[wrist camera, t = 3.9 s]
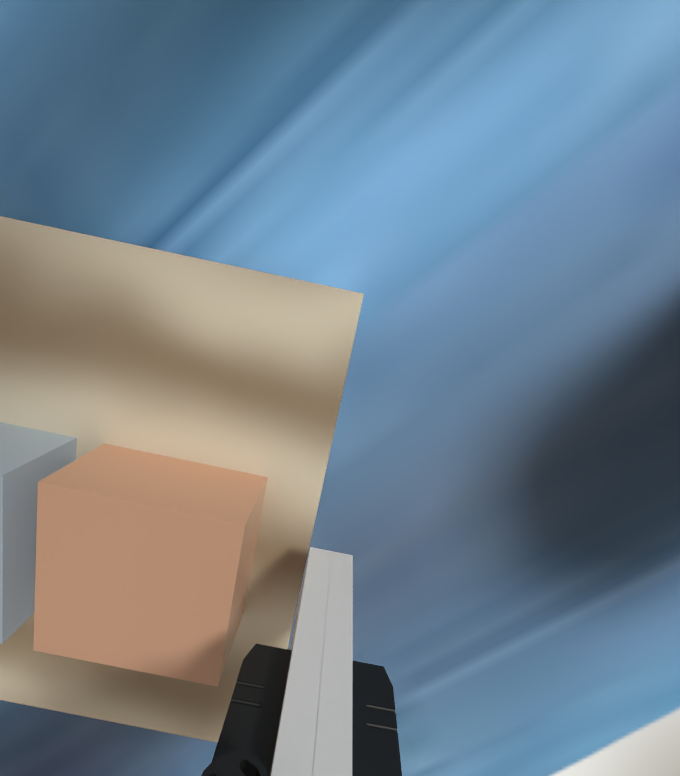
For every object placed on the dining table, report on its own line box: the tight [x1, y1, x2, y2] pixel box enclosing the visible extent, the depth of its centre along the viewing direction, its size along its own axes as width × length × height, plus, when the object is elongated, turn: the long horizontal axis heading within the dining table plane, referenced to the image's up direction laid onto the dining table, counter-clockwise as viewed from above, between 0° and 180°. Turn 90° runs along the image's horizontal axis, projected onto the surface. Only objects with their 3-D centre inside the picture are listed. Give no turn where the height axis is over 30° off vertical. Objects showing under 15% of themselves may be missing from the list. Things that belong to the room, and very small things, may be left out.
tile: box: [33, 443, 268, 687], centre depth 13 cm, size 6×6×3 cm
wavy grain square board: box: [0, 216, 364, 742], centre depth 16 cm, size 20×18×4 cm
